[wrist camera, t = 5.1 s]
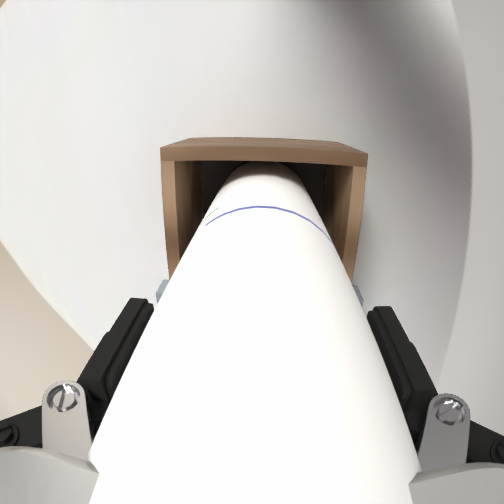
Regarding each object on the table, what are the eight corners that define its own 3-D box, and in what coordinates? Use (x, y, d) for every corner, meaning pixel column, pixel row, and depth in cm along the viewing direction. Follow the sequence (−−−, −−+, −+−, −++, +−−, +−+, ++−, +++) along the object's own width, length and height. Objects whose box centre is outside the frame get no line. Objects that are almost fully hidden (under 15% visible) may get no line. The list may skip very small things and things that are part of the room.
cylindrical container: (321, 226, 26) (437, 582, 3) (242, 258, 28) (192, 606, 5) (286, 145, 23) (484, 579, 1) (203, 183, 25) (-19, 527, 2)
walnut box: (191, 137, 24) (160, 147, 17) (337, 142, 24) (367, 153, 17) (196, 269, 29) (174, 321, 22) (325, 273, 29) (342, 326, 21)
